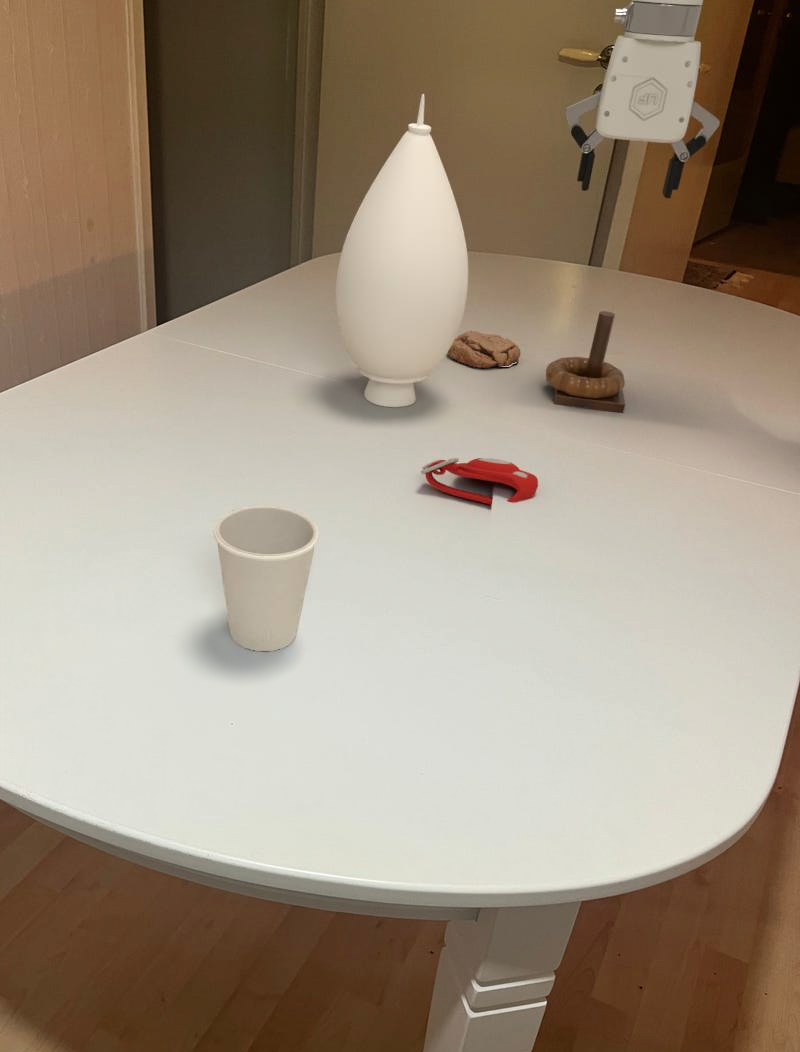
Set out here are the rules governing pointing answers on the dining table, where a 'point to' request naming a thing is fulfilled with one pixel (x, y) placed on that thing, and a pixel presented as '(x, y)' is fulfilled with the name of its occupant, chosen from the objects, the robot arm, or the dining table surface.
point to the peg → (596, 370)
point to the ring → (584, 378)
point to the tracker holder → (483, 477)
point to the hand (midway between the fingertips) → (625, 192)
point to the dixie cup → (265, 572)
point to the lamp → (403, 272)
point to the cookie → (484, 350)
